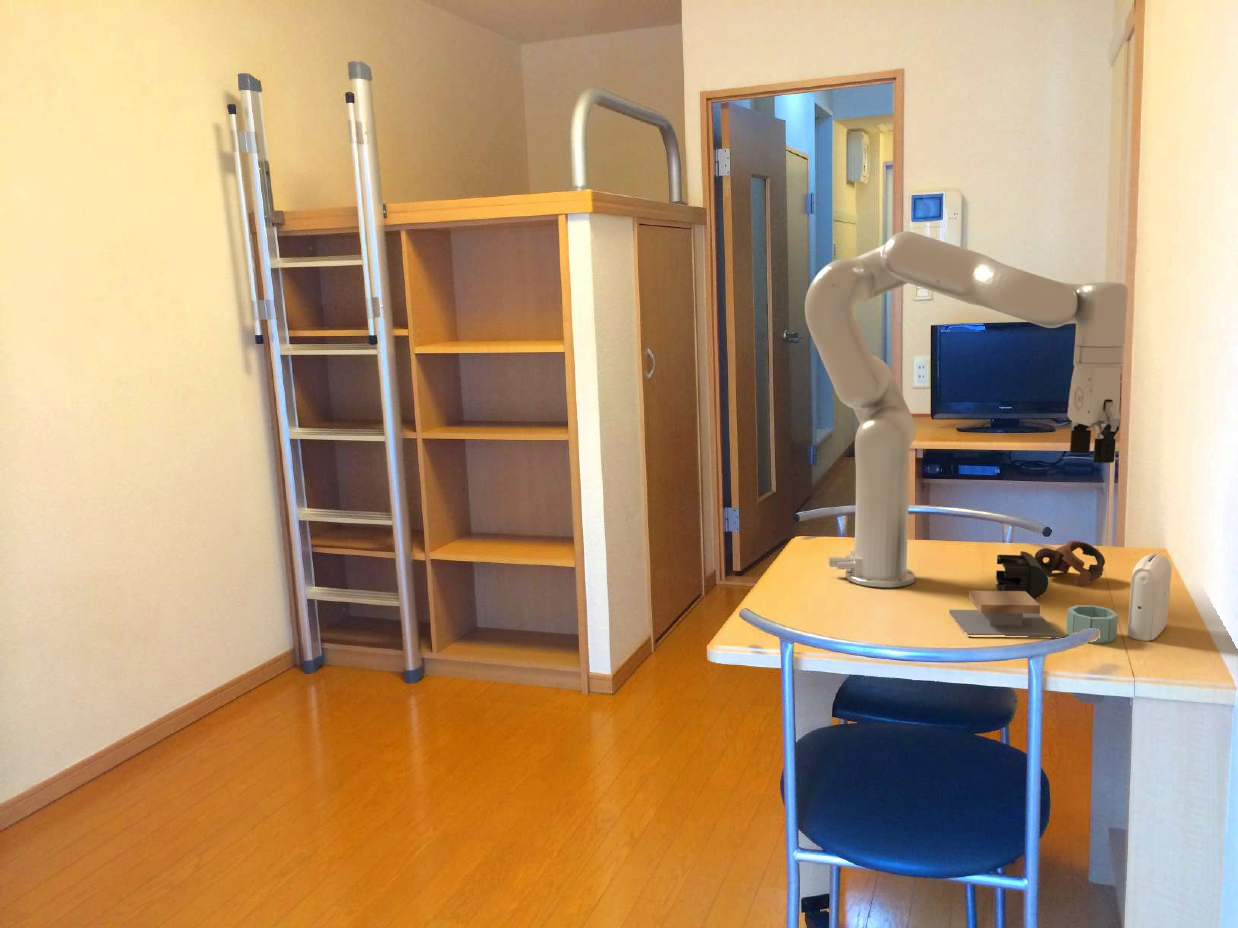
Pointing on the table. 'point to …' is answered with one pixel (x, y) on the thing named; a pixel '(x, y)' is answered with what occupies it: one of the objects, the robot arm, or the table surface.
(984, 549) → the table surface
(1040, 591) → the end cap
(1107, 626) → the ceramic bowl
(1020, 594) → the walnut board
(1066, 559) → the brown piece
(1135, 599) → the photo printer
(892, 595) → the table surface
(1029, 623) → the rubber mat
